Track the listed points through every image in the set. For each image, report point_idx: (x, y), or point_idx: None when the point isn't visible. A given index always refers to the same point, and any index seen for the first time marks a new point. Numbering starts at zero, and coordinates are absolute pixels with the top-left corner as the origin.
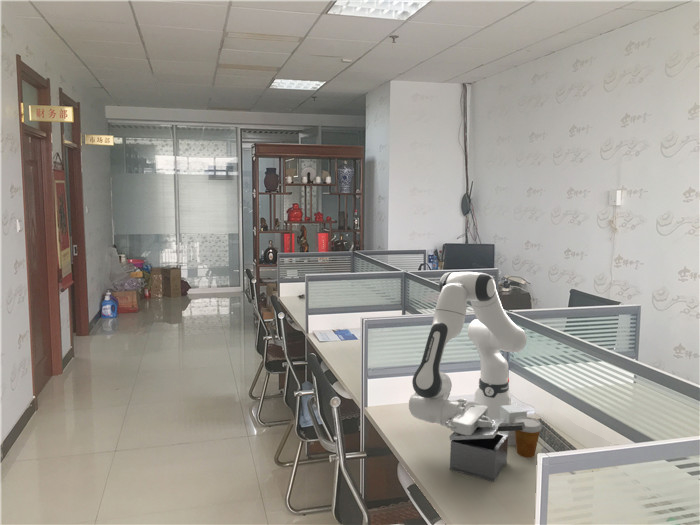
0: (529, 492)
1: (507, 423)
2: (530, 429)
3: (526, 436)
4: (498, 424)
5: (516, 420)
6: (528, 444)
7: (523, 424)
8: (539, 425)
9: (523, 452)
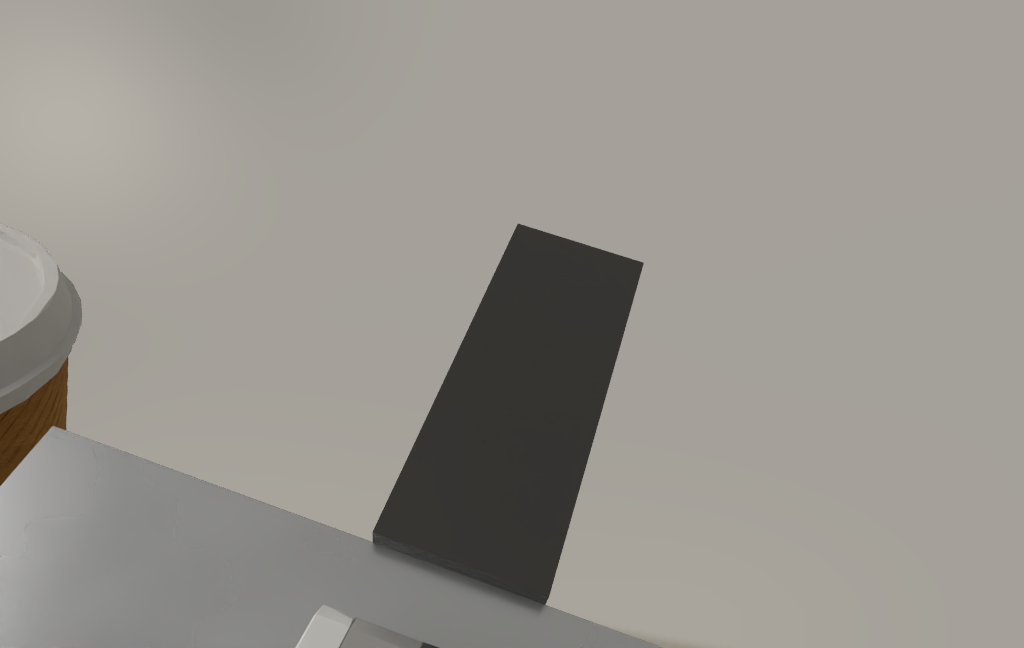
0: (668, 643)
1: (453, 414)
2: (64, 322)
3: (46, 418)
4: (338, 580)
5: None
6: None
7: (561, 249)
8: (25, 235)
9: None
